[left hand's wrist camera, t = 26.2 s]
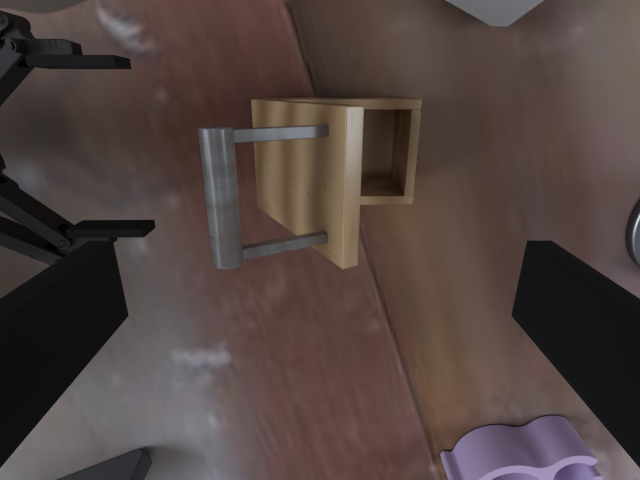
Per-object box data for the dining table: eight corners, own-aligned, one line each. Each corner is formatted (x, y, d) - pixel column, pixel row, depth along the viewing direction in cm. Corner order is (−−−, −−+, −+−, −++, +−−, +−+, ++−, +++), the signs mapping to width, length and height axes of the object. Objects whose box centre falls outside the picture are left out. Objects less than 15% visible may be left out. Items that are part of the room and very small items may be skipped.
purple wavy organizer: (560, 399, 58) (590, 439, 51) (578, 454, 62) (609, 497, 56) (434, 443, 61) (447, 485, 55) (459, 492, 65) (474, 537, 59)
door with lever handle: (364, 105, 21) (206, 109, 18) (358, 265, 25) (225, 298, 21) (264, 99, 34) (159, 100, 30) (269, 206, 38) (176, 219, 34)
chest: (402, 96, 43) (422, 99, 34) (396, 184, 46) (412, 204, 38) (270, 97, 43) (258, 98, 34) (274, 184, 46) (264, 204, 38)
